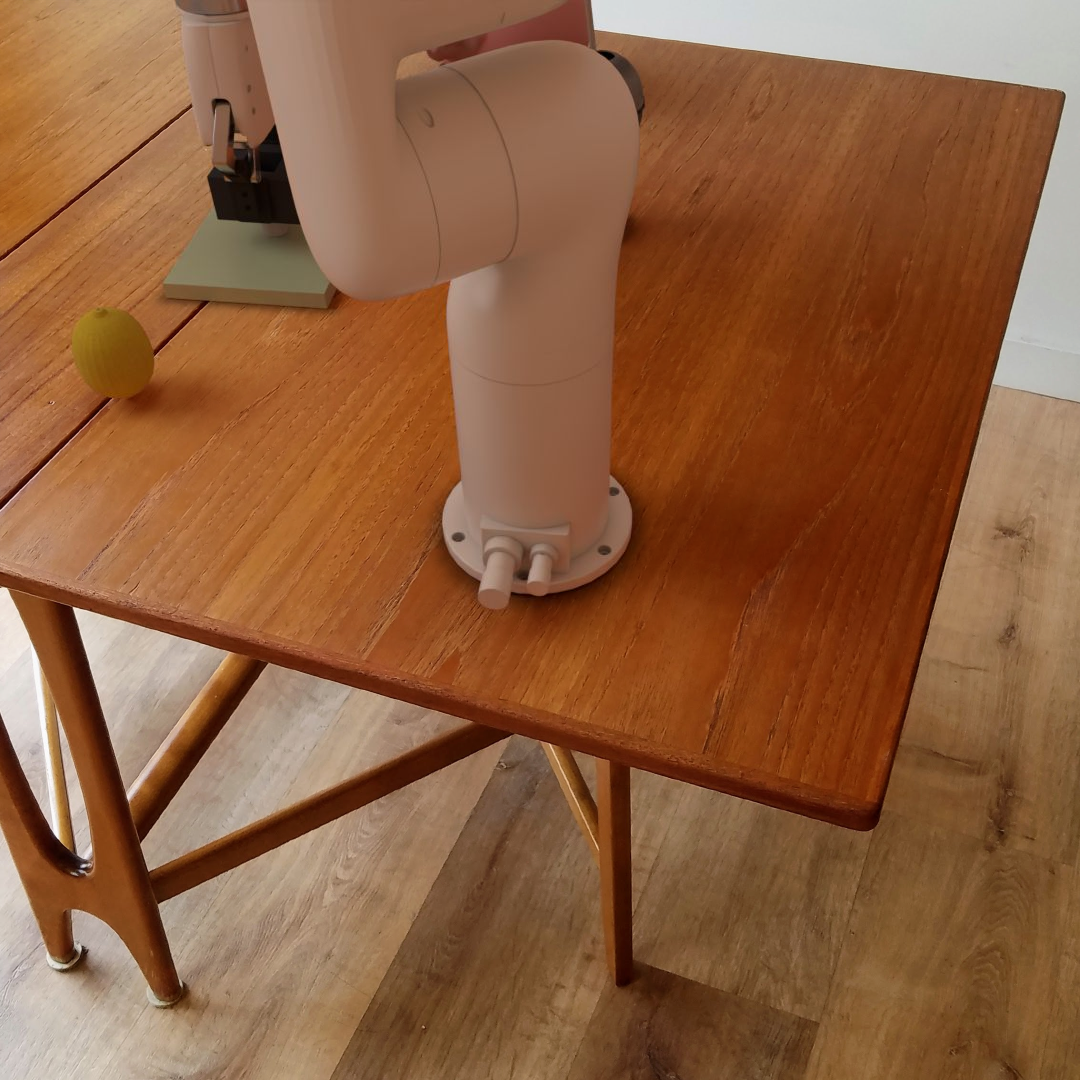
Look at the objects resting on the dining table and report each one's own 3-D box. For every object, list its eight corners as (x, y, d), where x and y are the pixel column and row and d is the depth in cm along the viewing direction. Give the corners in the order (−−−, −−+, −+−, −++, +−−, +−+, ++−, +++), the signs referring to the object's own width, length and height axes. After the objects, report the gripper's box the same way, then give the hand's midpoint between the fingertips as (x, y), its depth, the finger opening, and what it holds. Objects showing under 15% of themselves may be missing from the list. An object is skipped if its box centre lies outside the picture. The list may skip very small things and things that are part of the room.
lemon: (104, 429, 85) (70, 341, 79) (82, 390, 89) (48, 302, 83) (176, 403, 87) (147, 315, 81) (152, 366, 91) (123, 278, 85)
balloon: (377, 110, 120) (357, -46, 109) (532, 58, 128) (528, -92, 117) (458, 167, 111) (445, 3, 100) (619, 107, 119) (623, -50, 108)
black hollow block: (302, 225, 97) (294, 181, 94) (217, 219, 98) (206, 176, 95) (322, 188, 101) (314, 146, 98) (240, 184, 102) (230, 141, 99)
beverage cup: (633, 252, 100) (642, 18, 86) (551, 245, 101) (547, 12, 87) (645, 210, 105) (655, -19, 91) (566, 203, 106) (564, -24, 92)
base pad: (327, 309, 95) (318, 261, 92) (166, 298, 97) (152, 251, 94) (379, 198, 108) (373, 153, 104) (236, 190, 109) (225, 145, 106)
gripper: (213, -60, 93) (257, 149, 106) (130, 28, 81) (191, 252, 94) (303, -58, 92) (337, 154, 105) (233, 32, 80) (280, 258, 93)
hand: (268, 198), depth 99 cm, fingers closed on black hollow block, 6 cm apart
